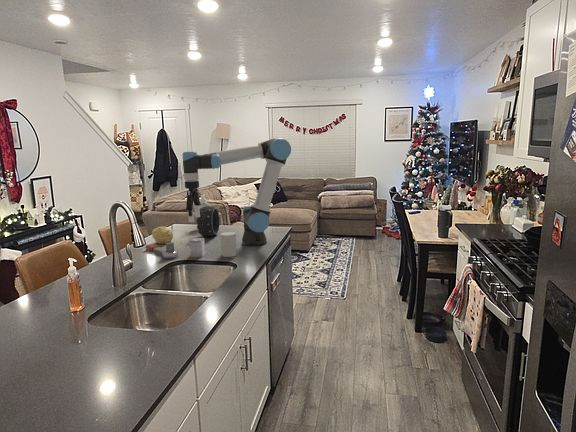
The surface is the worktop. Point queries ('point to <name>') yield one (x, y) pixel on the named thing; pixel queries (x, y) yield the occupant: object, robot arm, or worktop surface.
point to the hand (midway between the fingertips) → (194, 219)
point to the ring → (208, 221)
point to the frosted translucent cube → (197, 247)
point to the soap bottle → (203, 202)
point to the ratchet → (164, 250)
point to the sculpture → (162, 235)
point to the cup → (228, 244)
